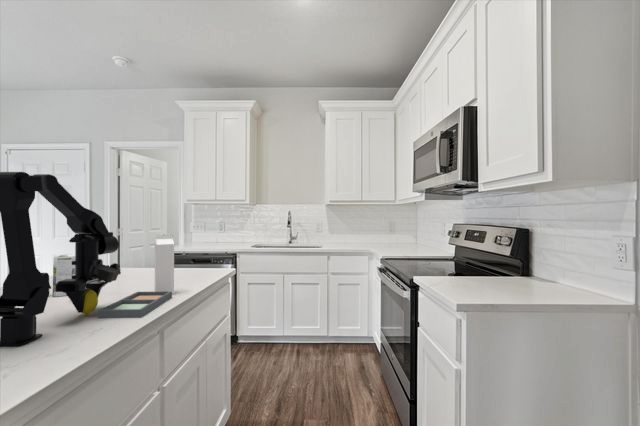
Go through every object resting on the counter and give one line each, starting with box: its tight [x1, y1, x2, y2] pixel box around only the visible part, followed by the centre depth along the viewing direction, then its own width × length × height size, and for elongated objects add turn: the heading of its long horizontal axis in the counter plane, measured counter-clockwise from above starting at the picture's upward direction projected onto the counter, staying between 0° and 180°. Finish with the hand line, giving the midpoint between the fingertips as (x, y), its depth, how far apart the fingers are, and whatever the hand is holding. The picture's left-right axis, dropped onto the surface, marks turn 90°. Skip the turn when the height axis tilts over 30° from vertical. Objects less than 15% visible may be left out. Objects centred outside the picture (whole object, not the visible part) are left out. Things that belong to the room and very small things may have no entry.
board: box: [97, 291, 173, 319], centre depth 112 cm, size 24×12×2 cm, turn 3°
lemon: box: [81, 288, 99, 316], centre depth 103 cm, size 6×6×8 cm
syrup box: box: [52, 254, 75, 298], centre depth 128 cm, size 6×6×14 cm
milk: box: [154, 234, 175, 296], centre depth 130 cm, size 6×6×22 cm
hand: (86, 309), depth 103 cm, fingers closed on lemon, 5 cm apart
